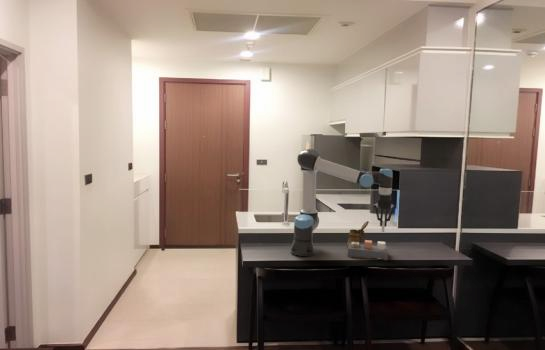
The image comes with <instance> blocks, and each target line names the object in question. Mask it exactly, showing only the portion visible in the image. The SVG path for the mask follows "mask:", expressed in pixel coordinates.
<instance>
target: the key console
mask: <svg viewBox="0 0 545 350" xmlns="http://www.w3.org/2000/svg"><path fill="white" fill-rule="evenodd" d="M351 244H352V243H349V246H348V247H347V257H351V256H354V258H360V257H366V258H365V259H370V258H381V259H389V248H388V246H386V245H385V250H377V246H378V245H374V244H372V249H366V248H364V245H365V243H364V244H363V243H360V244H359V248H356V247H351Z"/></svg>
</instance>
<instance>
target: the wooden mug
mask: <svg viewBox="0 0 545 350" xmlns="http://www.w3.org/2000/svg"><path fill="white" fill-rule="evenodd" d="M369 223H370V222H369V221H365V222H364V223H363V224H362V226H361V227H360V229H350V230H349V232H348V239H347V243H346V247H347V248H348V246H349V243H352V242H359V244H361V242H362V240H363V238H364V236H365V228H366V227H368V225H369ZM360 235H361V236H360Z"/></svg>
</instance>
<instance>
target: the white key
mask: <svg viewBox="0 0 545 350" xmlns="http://www.w3.org/2000/svg"><path fill="white" fill-rule="evenodd" d="M376 246H377V250H385V246H386V241H382V240H381V241H379V240H378V241H377V245H376Z"/></svg>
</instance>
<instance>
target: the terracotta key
mask: <svg viewBox="0 0 545 350" xmlns="http://www.w3.org/2000/svg"><path fill="white" fill-rule="evenodd" d="M364 244H365V245H364V248H366V249H372V245H373V240H371V239H370V240H369V239H368V240H367V239H364Z"/></svg>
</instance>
